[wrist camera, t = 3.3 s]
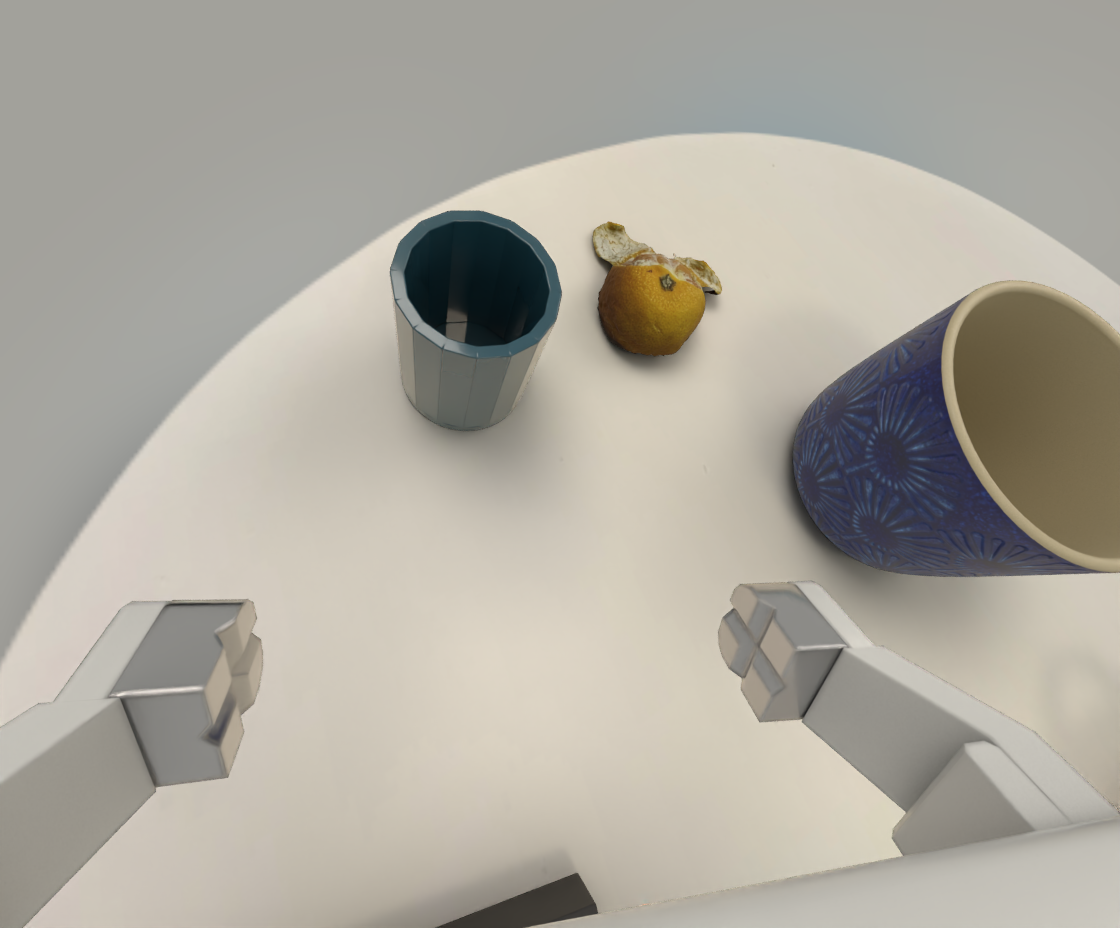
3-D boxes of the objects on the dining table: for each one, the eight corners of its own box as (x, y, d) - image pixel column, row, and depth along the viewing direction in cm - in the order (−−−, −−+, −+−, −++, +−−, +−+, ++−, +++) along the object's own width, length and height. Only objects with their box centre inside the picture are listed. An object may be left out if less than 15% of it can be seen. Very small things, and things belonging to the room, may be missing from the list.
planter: (956, 439, 34) (1187, 364, 23) (928, 622, 29) (1195, 628, 19) (796, 349, 32) (966, 229, 22) (742, 527, 28) (922, 479, 18)
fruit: (718, 271, 32) (753, 230, 29) (697, 386, 30) (732, 356, 26) (595, 221, 31) (616, 172, 28) (562, 336, 29) (580, 298, 25)
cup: (410, 438, 25) (403, 364, 18) (393, 323, 26) (380, 209, 19) (534, 423, 27) (576, 350, 19) (512, 316, 28) (543, 210, 21)
